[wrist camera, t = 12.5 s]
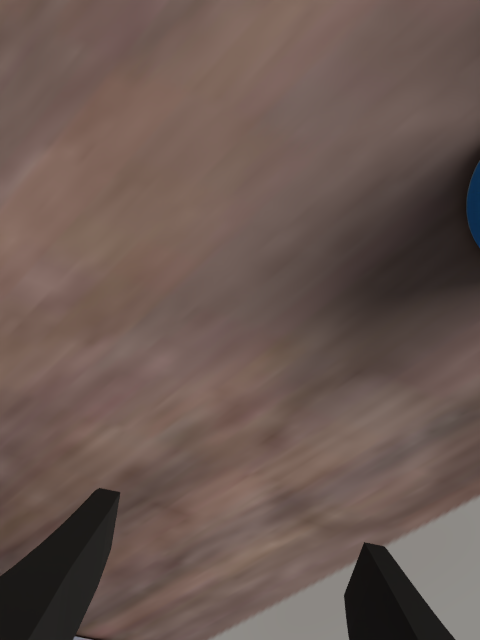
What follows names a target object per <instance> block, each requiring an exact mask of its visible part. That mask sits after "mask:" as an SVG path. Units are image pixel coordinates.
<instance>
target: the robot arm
mask: <svg viewBox="0 0 480 640" xmlns="http://www.w3.org/2000/svg"><path fill="white" fill-rule="evenodd" d="M119 497H120V492H116V491H111V490H106V489H101V488H99V489H97V490H95V491H94V492H93V493H92V494H91V496H90V497H89V498H88V499H87V500H86V501H85V502H84V503H83V504H82V505H81V506H80V507H79V508H78V509H77V510H76V511H75V512H74V513H73V514H72V515H71V516H70V517H69V518H68V519H67V520H66V521H65V522H64V523H63V524H62V525H61V526H60V527H59V528H58V529H56V530H55V531H54V532H53V533H52V534H51V535H50V536H49V537H48V538H47V539H46V540H44V541H43V542H42V543H41V544H40V545H39V546H38V547H36V548H35V549H34V550H33V551H32V552H30V553H29V554H28V555H27V556H26V557H24V558H23V559H22V560H21V561H20V562H18V563H17V564H16V565H15V566H13V567H12V568H11V569H9V570H8V571H7V572H6V573H4V574H3V575H2V576H0V640H92V639H86V638H81V637H76V636H75V635H76V632H77V630H78V628H79V626H80V624H81V622H82V619H83V617H84V615H85V613H86V611H87V609H88V606H89V604H90V602H91V600H92V598H93V596H94V593H95V591H96V589H97V587H98V584H99V582H100V579H101V576H102V573H103V570H104V567H105V565H106V562H107V559H108V556H109V553H110V550H111V546H112V540H113V534H114V527H115V521H116V515H117V509H118V503H119ZM344 599H345V610H346V619H347V627H348V635H349V640H455V639H454V637H453V636H452V635H451V634H450V633H449V631H448V630H447V629H446V628H445V627H444V625H443V624H442V623H441V621H440V620H439V619H438V618H437V616H436V615H435V614H434V612H433V611H432V610H431V609H430V607H429V606H428V604H427V603H426V602H425V600H424V599H423V598H422V596H421V595H420V594H419V592H418V591H417V590H416V588H415V587H414V586H413V584H412V583H411V582H410V580H409V579H408V577H407V576H406V575H405V573H404V572H403V571H402V569H401V568H400V566H399V565H398V564H397V562H396V561H395V560H394V559H393V557H392V556H391V554H390V553H389V552H388V550H387V549H386V548H385V547H384V546H379V545H375V544H370V543H365V542H364V544H363V547H362V550H361V552H360V555H359V557H358V560H357V563H356V565H355V568H354V571H353V573H352V576H351V579H350V581H349V584H348V586H347V589H346V592H345V594H344Z"/></svg>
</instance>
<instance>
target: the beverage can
mask: <svg viewBox="0 0 480 640" xmlns="http://www.w3.org/2000/svg"><path fill="white" fill-rule="evenodd" d="M467 219H468V224H469V228H470V231H471V234H472V236H473V238H474V240H475V242H476V243H477V245H478V246H479V248H480V160H479V162H478V164H477V166H476V168H475V170H474V173H473V175H472V178H471V181H470V185H469V188H468V194H467Z"/></svg>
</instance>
